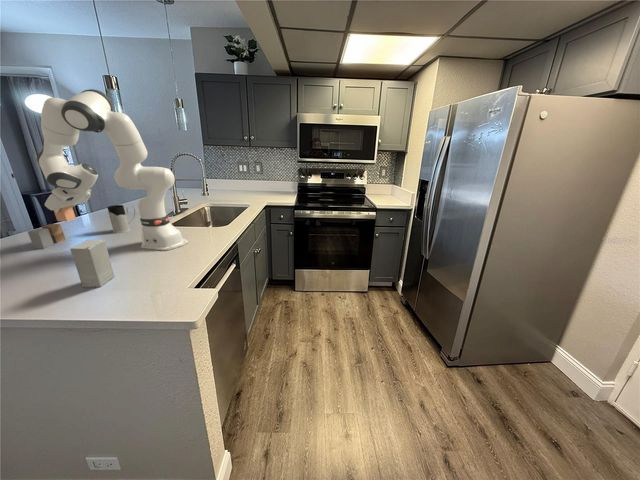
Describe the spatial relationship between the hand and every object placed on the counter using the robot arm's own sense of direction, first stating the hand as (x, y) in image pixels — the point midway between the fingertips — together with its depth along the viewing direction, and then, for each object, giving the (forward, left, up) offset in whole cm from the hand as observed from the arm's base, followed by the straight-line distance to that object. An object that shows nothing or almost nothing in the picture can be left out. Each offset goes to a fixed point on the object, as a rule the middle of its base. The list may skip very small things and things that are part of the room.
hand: (62, 210), depth 132 cm
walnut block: (+7, +4, -17) cm, 19 cm away
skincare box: (-63, +19, -17) cm, 68 cm away
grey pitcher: (-5, -25, -17) cm, 30 cm away
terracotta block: (0, 0, -5) cm, 5 cm away
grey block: (+2, +11, -17) cm, 20 cm away
